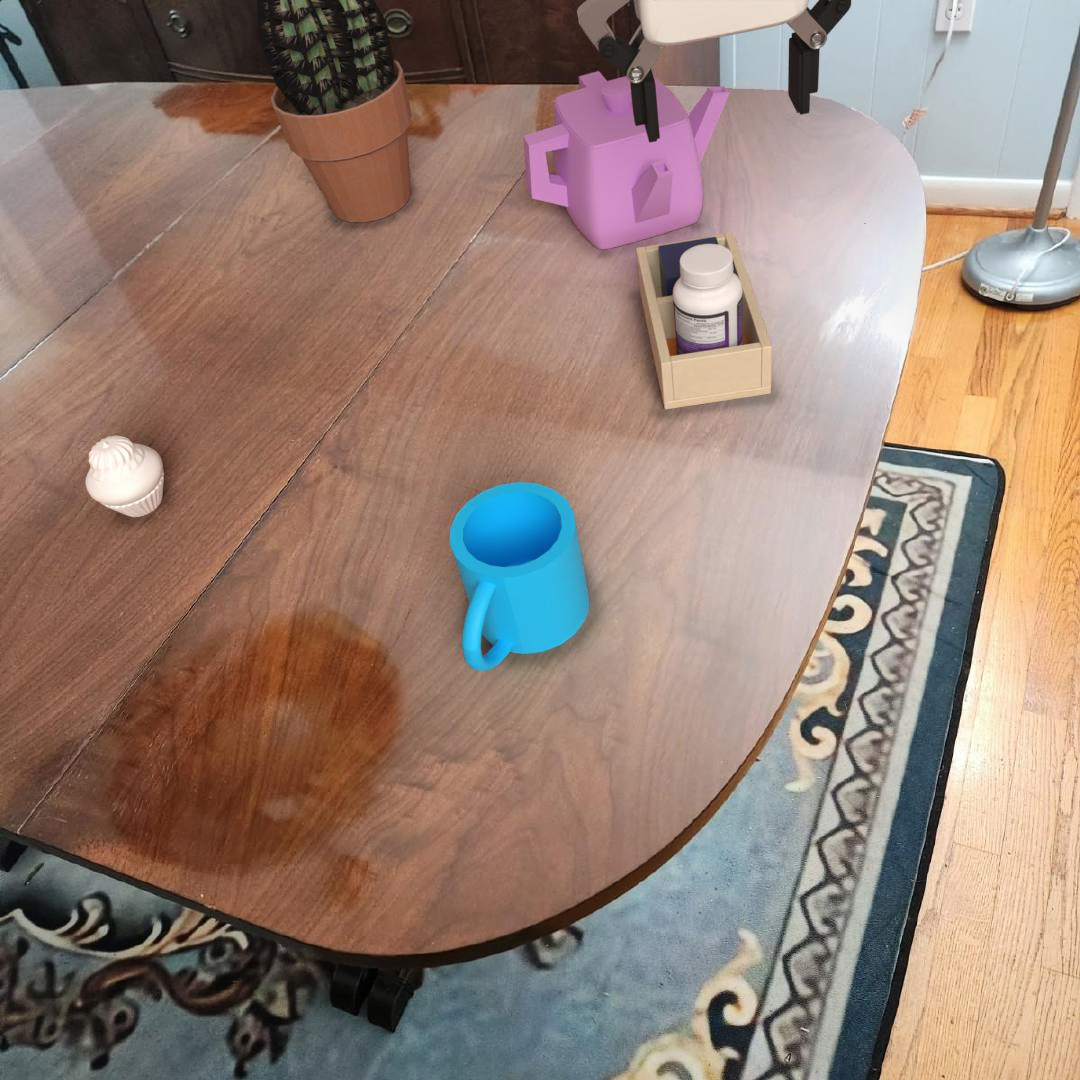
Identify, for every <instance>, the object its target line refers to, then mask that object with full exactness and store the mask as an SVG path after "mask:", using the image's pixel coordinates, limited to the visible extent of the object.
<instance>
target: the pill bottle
mask: <svg viewBox="0 0 1080 1080" xmlns="http://www.w3.org/2000/svg"><path fill="white" fill-rule="evenodd" d="M680 274H681V277H680V278H679V279H678V280H677V282H676V283H675V285H674V288H673V305H674V319H675V332H676V349H677V355H681V354H688V353H694V352H701V351H707V350H714V349H720V348H727V347H733V346H739V345H743V291H742V284H741V281H740V279H739V278H738V276H737V275H736V274H734V273H733V256H732V253H731V251H730V250H729V249H727V248H726V247H724V246H721V245H717V244H702V245H697V246H695V247H692V248H690V249H688V250H687V251H685V252H684V253H683V254H682V256H681V258H680Z"/></svg>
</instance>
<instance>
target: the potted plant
mask: <svg viewBox="0 0 1080 1080" xmlns="http://www.w3.org/2000/svg"><path fill="white" fill-rule="evenodd" d="M256 16H257V17H256V19H257V36H258V41H259V43H260V45H261V49H262V51H263V53H264V57H265V59H266V62H267V65H268V67H269V71H270V74H271V75H272V78H273V81H274V84H275V86H276V87H275V88H274V89H273V92H272V94H271V97H270V102H271V106H272V109H273V111H274V114H275V116H276V119H277V121H278V123H279V125H280V128H281V130H282V133H283V135H284V137H285V140H286V142H287V145H288V147H289V150H290V151H291V152H292V153H293V154H295V155H296V156H297V157H299V158H301V160H302V162H303V164H304V165H305V167H306V168H307V170H308V172H309V174H310V175H311V177H312V179H313V180H314V182H315V184H316V186H317V187H318V189H319V191H320V192H321V194H322V196H323V198H324V199H325V201H326V203H327V204H328V206H329V208H330V209H331V211H332V213H333V215H335V217H337V218H338V219H339V220H342V221H345V222H349V223H361V224H362V223H369V222H370V223H371V222H375V221H378V220H381V219H384V218H387V217H389V216H391V215H393V214H395V213H397V212H398V211H399V210H400V209H402V208H403V207H404V206H405V205H406V204H407V202H408V201H409V200H410V199H411V193H412V185H411V184H412V183H411V169H410V153H409V137H408V135H409V134H408V128H409V126H410V125H411V121H412V116H413V114H412V109H411V106H410V105H411V103H410V99H409V93H408V89H407V84H406V79H405V75H404V69H403V68H402V66H401V64H400V62H399V61H397V60H396V59H394V53H393V50H392V45H391V40H390V37H389V31H388V25H387V22H386V19H385V17H384V15H383V13H382V11H381V10H380V8H379V6H378V4H377V3H376V0H256Z"/></svg>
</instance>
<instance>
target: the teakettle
mask: <svg viewBox="0 0 1080 1080" xmlns="http://www.w3.org/2000/svg"><path fill="white" fill-rule="evenodd" d="M653 77H654V80H655V86H656V97H657V109H658V121H659V133H660V139H657V141H655V142H650V143H649V140H648V136H647V132H646V129H645V125H639V126H636V125H635V121H634V115H633V106H632V96H631V86H630V81H629V80H628V78H627V76H626V75H624V76H621V77H618V78H614V79H610V80H607V79H606V77H604V76H603V74H602V73H601V71H599V70H597V71H594V72H590V73H586V74H582V75H580V76H579V75H578V86H579V89H576V90H573V91H570V92H567V93H564V94H560V95H558V96H557V97H556V98H555V100H554V106H553V125H552V126H550V127H547V128H544V129H541V130H538V131H535V132H531V133H528V134H525V135H523V136H522V137H523V155H524V167H525V184H526V189H527V191H528V193H529V195H530V197H531V199H533V200H537V201H541V202H545V203H550V204H553V205H558V206H562V207H565V209H566V212H567V213H568V215H569V217H570V219H571V221H572V222H573V224H574V226H575V227H576V228H577V229H578V231H579V232H580V233H581V234H582V235H583V237H584V238H585V239H586V240H587V241H588V242H589V243H590V244H591V245H592V246H593V247H595V248H596V249H598V250H604V251H605V250H611V249H614V248H618V247H622V246H626V245H630V244H633V243H637V242H640V241H644V240H647V239H651V238H654V237H657V236H661V235H663V234H667V233H670V232H673V231H676V230H679V229H682V228H685V227H687V226H690V225H693V224H695V223H697V222H698V221H699V219H700V216H701V214H702V210H703V206H704V185H703V177H702V176H703V175H702V169H701V163H702V160H703V158H704V156H705V153H706V151H707V149H708V146H709V144H710V142H711V139H712V136H713V134H714V132H715V131H716V128H717V125H718V123H719V121H720V118H721V116H722V113H723V111H724V108H725V106H726V104H727V101H728V100H729V96H730V94H731V93H730V91H729V90H728V89H727V88H726V87H725V86H724V85H723V86H709V87H706V91H705V92H704V94H702V96H701V97H700V98H699V100H698V102H697V103H696V104H695V106H694V107H693V108H692V109H691V111H690V112H689V114H688V112H687V111H686V109H685V107H684V105H682V103H681V102H680V101H679V99H678V98H677V97H676V96H675V93H673V92H672V91H671V90H670V88H668V86H666V85H665V84H664V83H663V82H662V81H660V80H659V78H656V77H655V76H654V75H653ZM548 152H552V156H553V157H552V158H553V170H554V174H552V173H549V168H548V167H549V166H548V160H547V155H546V153H548Z"/></svg>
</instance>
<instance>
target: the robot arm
mask: <svg viewBox="0 0 1080 1080" xmlns="http://www.w3.org/2000/svg"><path fill="white" fill-rule="evenodd" d="M630 1H631V0H585V1H584V2H583V3H582V4H581V5H579V6H578V7H577V10H576V16H577V22H578V24H579V26H580V28H581V30H583V32H584V34H585V35H586V36H587V38H588V39H589V41H590V42H591V44H592V45H593V46H594V47H595V49H596V50H597V52H598V54H599V56H600V57H601V59H603V60H604V61H605V62H607V63H608V64H609V65H611V66H613V67H614V68H615V69H616V70H618V71H619V72H621V74H623V75H624V76H627V78H628V80H629V81H630V86H631V96H632V106H633V115H634V121H635V125H636V126H639V125H645V129H646V132H647V136H648V140H649V143H650V142H655V141H657V139H660V133H659V121H658V109H657V97H656V86H655V80H654V77H655V76H654V73H653V70H652V68H653V66H654V64H655V63H656V61H657V60H658V59H659V56H660V55H661V53H662V52H663V51H664V49H665V48H666V47H673V46H680V45H685V44H686V45H687V44H690V43H691V44H692V43H696V42H702V41H706V40H712V39H717V38H722V37H728V36H734V35H738V34H743V33H748V32H749V33H750V32H753V31H754V32H755V31H759V30H764V29H768V28H773V27H778V26H781V25H784V24H787V25H788V27H790V28H791V29H792V31H793V32H791V37H789V38H788V67H787V68H788V69H787V70H788V74H787V75H788V76H787V77H788V78H787V85H788V87H787V94H788V98H789V99H790V102H791V103H792V105H793V108H794V110H795V112H796V113H797V114H799V115H807V114H810V111H811V110H810V106H811V94H816V93H818V92H819V80H820V79H819V77H820V51H821V50H820V49H821V48H823V47H824V46H825V45H826V43H827V41H828V35H829V34H830V33H831V32H832V30H833V29H834V28H835V27H836V26H837V24H838V23H839V22H840V21H841V20H842V19H843V18H844V17H845V15H846V14H847V13H849V11H850V9H851V6H852V0H817V2H816V3H815V4H814V5H813V6H812V8H810V7H809V6H808V5H809V2H810V0H633V5H634V11H635V12H634V13H635V16H636V18H637V19H638V20H639V22H640V24H639V26H638V27H637V29H636V30H635V31H634V32H635V33H634V34H633V35H632V37H631V39H630V40H629V42H627V41H626V40H625V39H623V38H622V37H621V36H619V35H618V34H616V33H615V32H614V31H612V29H611V28H610V26H609V24H608V22H607V21H608V19H609V18H610V17H611V16H612V15H613V14H615V13H616V12H618V11H619V10H620V9H621V8H622V7H624V6H625V5H626V4H627V3H629V2H630ZM653 76H654V77H653Z"/></svg>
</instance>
